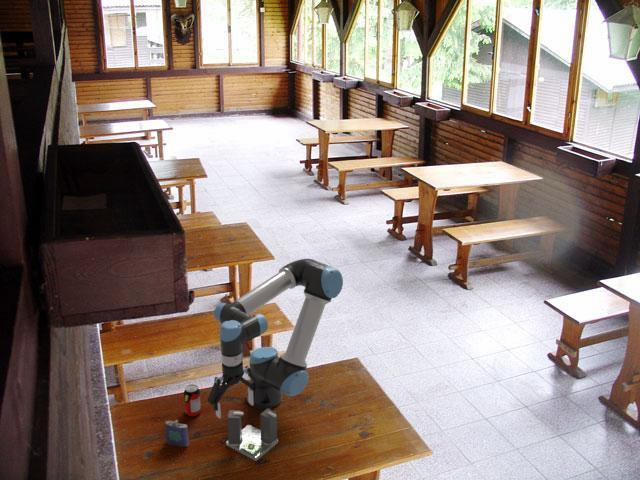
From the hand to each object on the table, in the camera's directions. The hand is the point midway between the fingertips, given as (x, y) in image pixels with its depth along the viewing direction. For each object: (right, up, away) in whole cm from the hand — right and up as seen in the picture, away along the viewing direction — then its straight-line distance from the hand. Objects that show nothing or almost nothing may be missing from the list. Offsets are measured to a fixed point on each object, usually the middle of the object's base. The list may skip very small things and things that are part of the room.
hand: (235, 410), depth 239 cm
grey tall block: (+12, -13, +6) cm, 19 cm away
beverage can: (-20, -7, +23) cm, 32 cm away
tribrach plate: (+6, -14, +6) cm, 17 cm away
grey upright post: (0, -13, +5) cm, 14 cm away
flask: (-23, -14, +5) cm, 28 cm away
